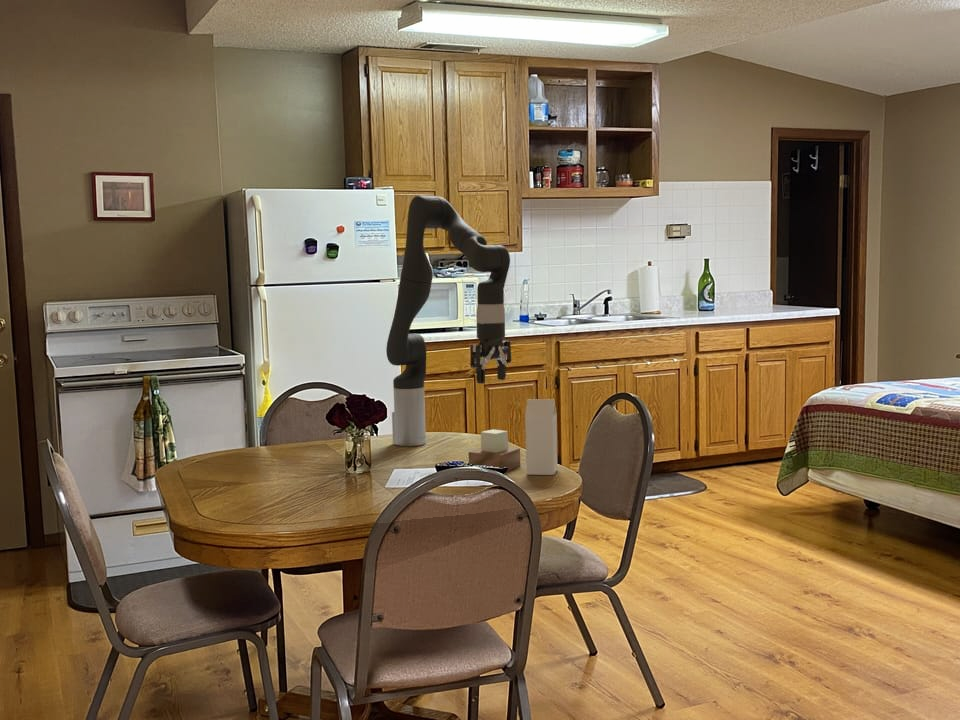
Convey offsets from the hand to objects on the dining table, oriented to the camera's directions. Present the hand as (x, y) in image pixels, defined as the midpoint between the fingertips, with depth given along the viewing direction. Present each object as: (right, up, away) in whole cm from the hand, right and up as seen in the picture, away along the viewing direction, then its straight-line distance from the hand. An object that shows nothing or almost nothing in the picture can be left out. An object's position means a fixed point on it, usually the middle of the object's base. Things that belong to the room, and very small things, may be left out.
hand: (491, 381), depth 268 cm
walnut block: (+1, -23, -2) cm, 23 cm away
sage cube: (+1, -18, -3) cm, 18 cm away
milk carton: (+13, -23, -10) cm, 29 cm away
